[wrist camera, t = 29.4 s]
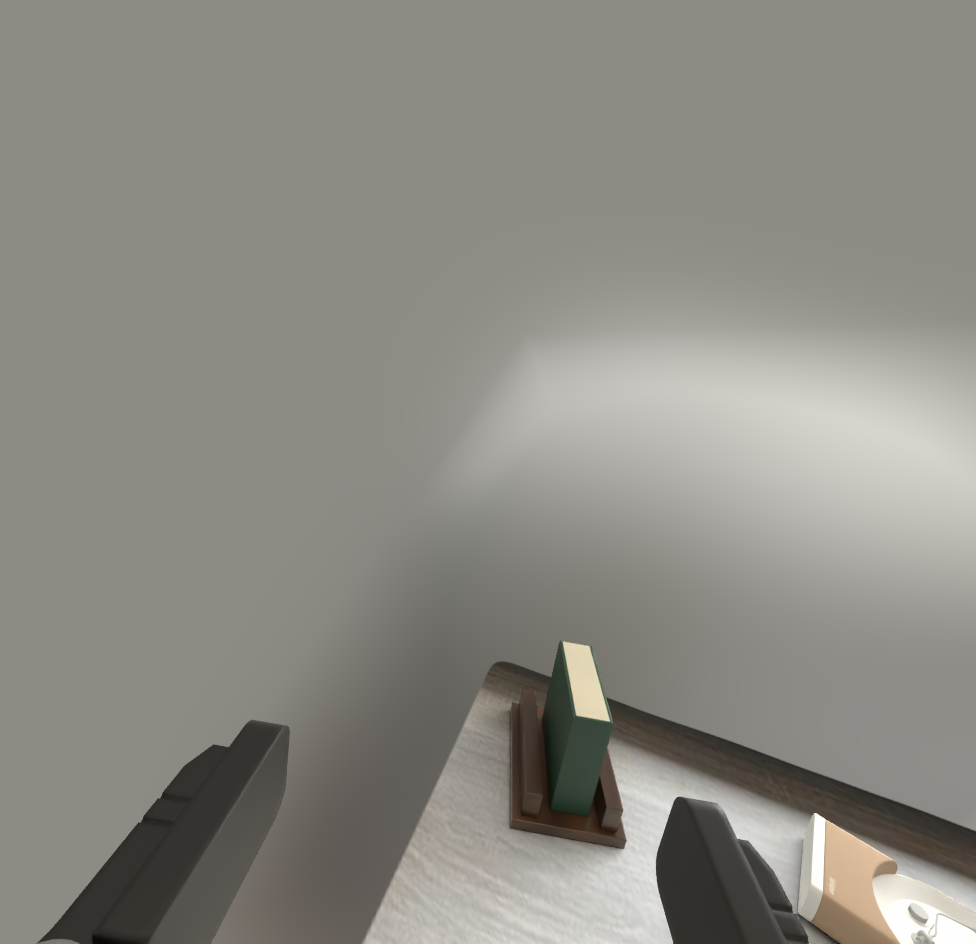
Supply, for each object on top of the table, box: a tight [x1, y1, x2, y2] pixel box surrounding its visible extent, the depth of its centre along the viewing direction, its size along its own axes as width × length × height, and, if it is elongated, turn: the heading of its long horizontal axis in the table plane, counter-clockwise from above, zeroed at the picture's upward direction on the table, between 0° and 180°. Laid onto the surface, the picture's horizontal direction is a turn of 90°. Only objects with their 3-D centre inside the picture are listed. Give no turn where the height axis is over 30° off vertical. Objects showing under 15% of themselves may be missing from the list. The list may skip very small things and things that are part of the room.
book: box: [542, 641, 614, 817], centre depth 45 cm, size 4×11×10 cm, turn 177°
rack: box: [510, 688, 626, 848], centre depth 46 cm, size 10×14×4 cm
